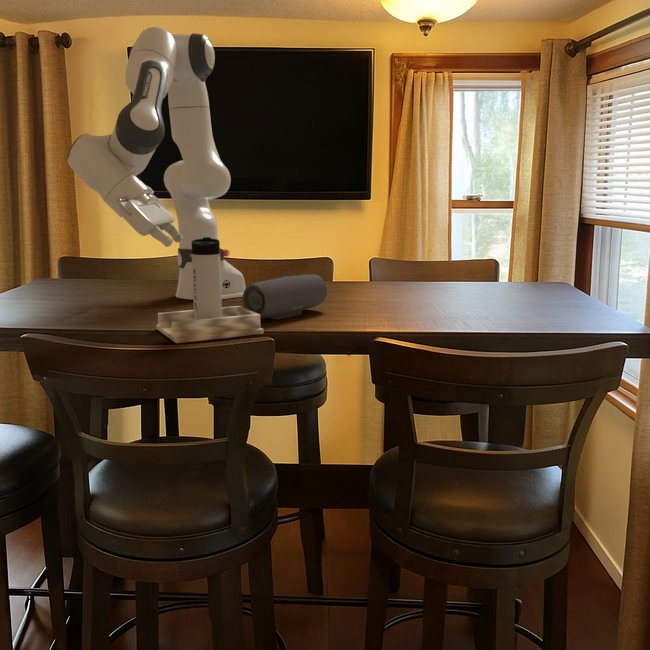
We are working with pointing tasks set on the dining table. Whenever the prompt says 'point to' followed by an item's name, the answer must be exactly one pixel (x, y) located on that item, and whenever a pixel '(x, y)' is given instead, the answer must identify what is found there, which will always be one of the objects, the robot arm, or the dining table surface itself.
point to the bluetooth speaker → (284, 296)
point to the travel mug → (206, 278)
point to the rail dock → (209, 325)
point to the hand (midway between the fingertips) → (175, 242)
